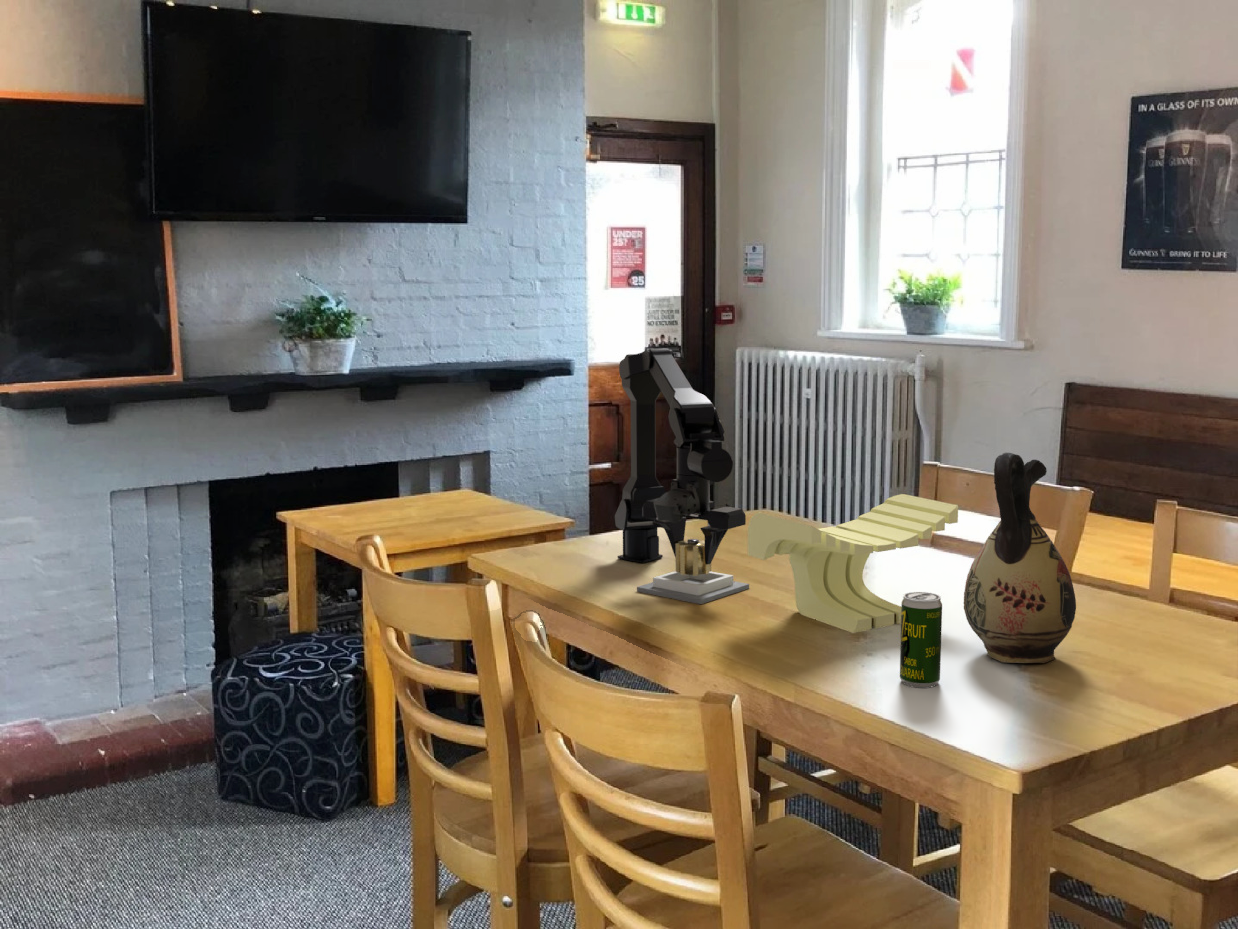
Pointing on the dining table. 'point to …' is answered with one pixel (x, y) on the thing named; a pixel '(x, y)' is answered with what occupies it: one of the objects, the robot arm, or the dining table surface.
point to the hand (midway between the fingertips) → (693, 561)
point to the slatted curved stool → (847, 557)
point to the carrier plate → (693, 586)
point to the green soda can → (920, 639)
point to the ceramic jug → (1019, 576)
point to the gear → (691, 557)
